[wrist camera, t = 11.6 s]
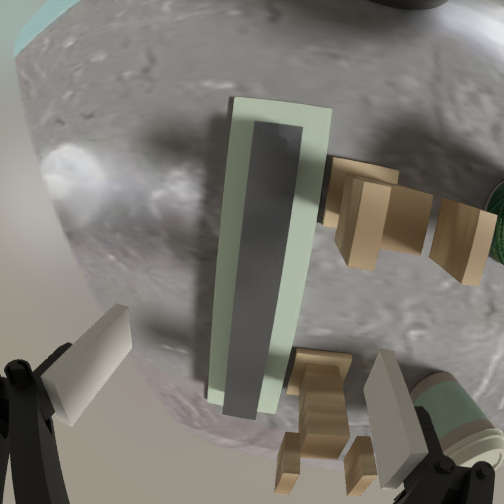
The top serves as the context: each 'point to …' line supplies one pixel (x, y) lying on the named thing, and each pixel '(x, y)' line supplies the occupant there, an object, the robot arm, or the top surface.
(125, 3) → the top surface
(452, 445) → the coffee cup
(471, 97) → the top surface
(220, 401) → the mat
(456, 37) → the top surface
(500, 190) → the canned tomato
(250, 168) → the rail
